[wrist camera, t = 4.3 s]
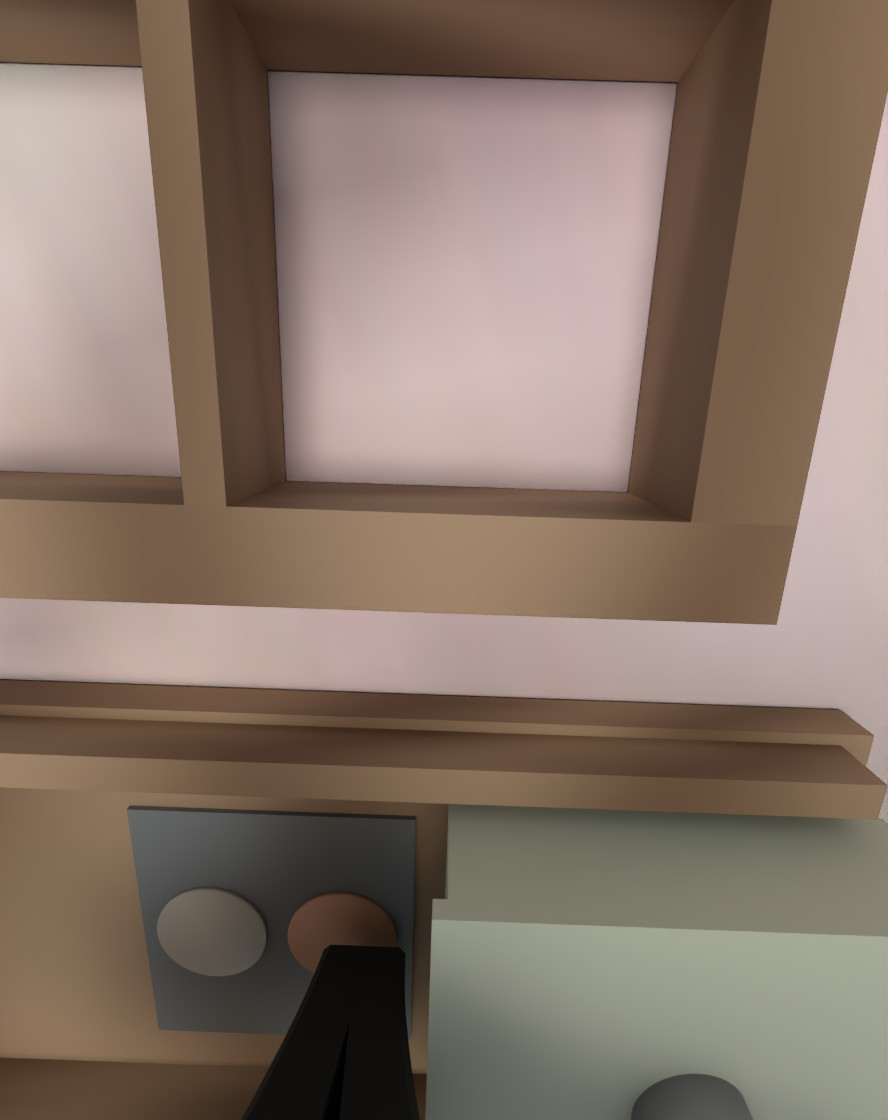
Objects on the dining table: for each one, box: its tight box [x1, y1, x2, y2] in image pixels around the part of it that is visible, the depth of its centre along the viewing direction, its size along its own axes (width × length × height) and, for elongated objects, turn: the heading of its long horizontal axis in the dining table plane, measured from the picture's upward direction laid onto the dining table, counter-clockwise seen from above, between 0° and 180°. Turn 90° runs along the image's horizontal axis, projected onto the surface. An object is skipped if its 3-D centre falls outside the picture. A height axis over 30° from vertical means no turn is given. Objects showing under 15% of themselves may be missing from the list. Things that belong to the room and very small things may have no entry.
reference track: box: [0, 680, 887, 1120], centre depth 10 cm, size 18×9×2 cm, turn 88°
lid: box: [425, 804, 888, 1120], centre depth 8 cm, size 7×7×3 cm
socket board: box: [0, 0, 888, 625], centre depth 7 cm, size 14×8×2 cm, turn 88°
